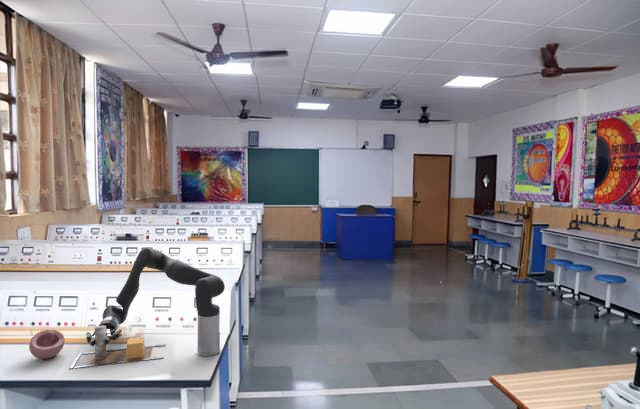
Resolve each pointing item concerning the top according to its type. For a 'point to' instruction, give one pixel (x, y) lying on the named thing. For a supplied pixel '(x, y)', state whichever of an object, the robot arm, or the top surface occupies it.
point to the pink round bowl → (46, 344)
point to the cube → (135, 347)
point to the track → (113, 362)
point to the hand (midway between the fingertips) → (99, 343)
